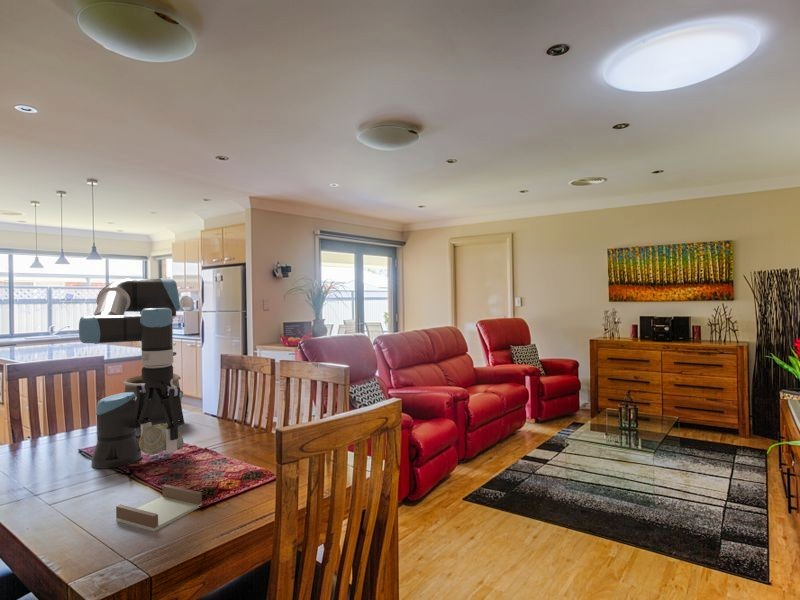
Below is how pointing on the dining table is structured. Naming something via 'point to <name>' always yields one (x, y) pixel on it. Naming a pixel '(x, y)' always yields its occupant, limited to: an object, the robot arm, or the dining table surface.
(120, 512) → the cradle
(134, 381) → the planter
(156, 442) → the seashell
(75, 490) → the dining table surface
